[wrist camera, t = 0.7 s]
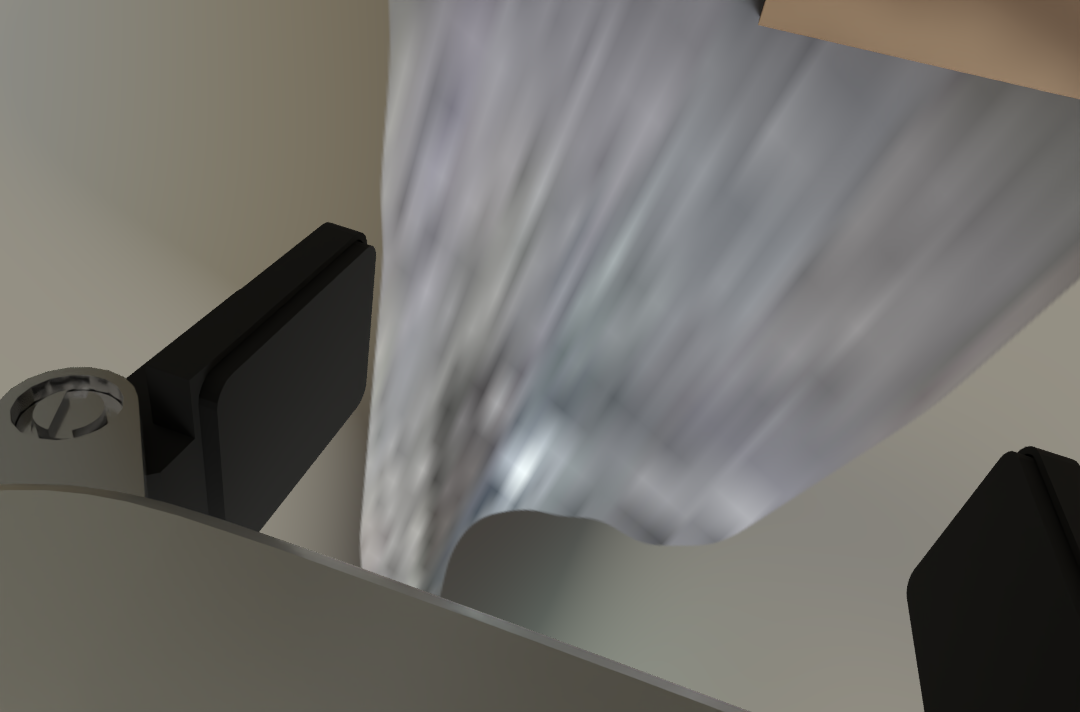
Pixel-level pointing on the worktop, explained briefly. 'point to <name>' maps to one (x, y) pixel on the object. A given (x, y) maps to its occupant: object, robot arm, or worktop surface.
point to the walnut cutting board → (952, 34)
